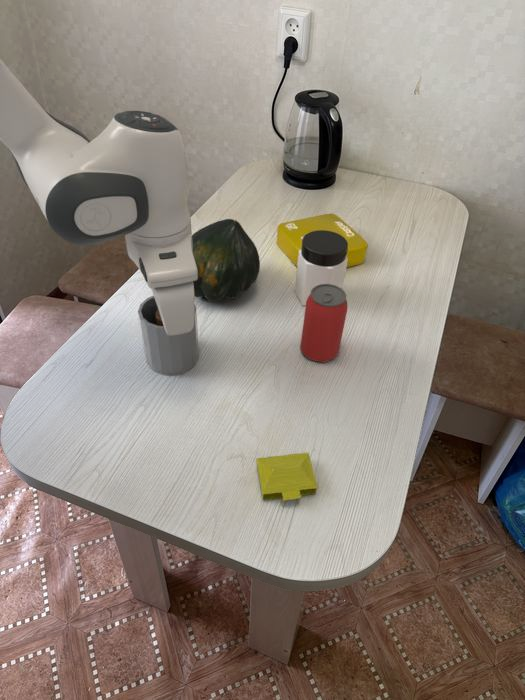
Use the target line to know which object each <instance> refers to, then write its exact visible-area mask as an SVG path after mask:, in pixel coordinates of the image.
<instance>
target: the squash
mask: <svg viewBox="0 0 525 700" xmlns="http://www.w3.org/2000/svg"><path fill="white" fill-rule="evenodd" d="M192 241H193V254H194V258H195V261H196V266H197V271H198V279H197V280H196V281H193V285H194V297H195V298H206V299H207V300H208V301H209V302H219V301H221V300H223V298H224V297H225V298H226V299H236V298H237V297H239V296H240V295H241V294H243V293H245V292H246V291H248V290H249V289H250V288H251V287H252V286H253V284H254V283H255V282H256V281H257V279H258V277H259V274H260V268H261V261H260V255H259V251H258V249H257V246H256V244H255V243H254V241H253V239H252V238H251V237H250V236H249V235H248V233H247V232H246V230H245V229H244V228H243V226H242V224H241V223H240V222H239V221H238V220H236V219H232V218H224V219H221V220H218V221H215V222H213V223H210V224H209V225H206V226H204V227H201V228H199V229H198V230H197V231H196V232H194V233H193V234H192Z"/></svg>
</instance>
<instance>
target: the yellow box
mask: <svg viewBox="0 0 525 700" xmlns="http://www.w3.org/2000/svg"><path fill="white" fill-rule="evenodd" d="M318 230H326V231H332V232H335V233H338V234H340V235H341V236H343V237H344V238H345V239H346V240H347V242H348V251H347V255H346V257H347V259H348V262H347V267H346V269H347V268H350V267H354V266H359V265H361V264H363V263H364V262H365V261H366V256H367V251H368V247H369V243H368V241H367V240H366V239H365V238H364V237H362V236H361V235H360V234H359V233H358V231H356V230H354V229H353V228H352V227H351V226H350V225H349V224H348V223H347V222H345V221H344V220H343V219H342V218H341V217H340V216H338V215H337V214H335V213H325V214H321V215H314V216H310V217H306V218H305V217H304V218H300V219H296V220H290V221H286V222H282V223H280V224H278V226H277V231H276V232H277V233H276V246H277V247H279V249H280V250H281V251H282V252H283V253H284V254H285V255H286V257H288V259H289V260H290V262H292V263H293V264H294V266H295V267H297V264H298V255H299V250H300V249H301V247H302V239H303V237H304V236H305V235H306V234H307V233H309V232H312V231H318Z"/></svg>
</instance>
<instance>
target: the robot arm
mask: <svg viewBox="0 0 525 700" xmlns="http://www.w3.org/2000/svg"><path fill="white" fill-rule="evenodd" d="M0 142H1V143H2V144H3V145H5V146H6V148H7V149H8V151H9V152H10V153H11V155H12V157H13V160H14V162H15V165H16V168H17V171H18V173H19V175H20V177H21V179H22V181H23V183H24V184H25V185H26V187H27V188H28V190H29V191H30V193H31V194H32V196H33V197H34V199H35V201H36V203H37V204H38V207H39V209H40V211H41V212H42V214H43V216H44V218H45V220H46V221H47V223H48V225H49V226H50V229H52V231H53V232H54V233H55V234H56V235H57V236H58V237H60V238H61V239H62V240H64V241H66V242H68V243H70V244H73V245H76V246H84V247H85V246H86V247H88V246H90V247H91V246H97V245H101V244H105V243H108V242H110V241H113V240H116V239H118V238H121V237H123V236H124V241H125V246H126V252H127V256H128V258H129V259H130V260H131V261H132V262H133V263H134V264H135V266H136V267H137V269H139V271H140V272H141V274H142V276H143V278H144V281H145V283H146V284H147V286H148V288H150V289H151V292H152V296H153V295H154V298H155V301H156V304H157V307H158V310H159V313H160V316H161V319H162V322H163V325H164V328H165V331H166V333H167V335H169V336H173V335H179V334H183V333H188V332H190V331H191V330H192V329H193V327H194V306H196V304H195V298H196V297H195V296H194V285H193V281H196V280H197V279H198V271H197V266H196V261H195V258H194V254H193V241H192V235H193V234H192V233H193V231H192V217H191V213H190V210H189V207H188V197H189V190H190V183H189V182H190V181H189V171H188V164H187V155H186V151H185V149H186V148H185V145H184V141H183V137H182V134H181V132H180V130H179V128H177V126H176V125H175V124H174V123H172V122H171V121H170V120H168V119H167V118H165V117H163V116H161V115H159V114H156V113H152V112H149V111H143V110H125V111H121V112H118V113H116V114H114V116H113V117H112V119H111V120H110V122H109V124H108V125H107V126H106V127H105V128H104V129H103V130H102V131H101V132H100V133H99V134H98V135H97V136H96V137H95V138H93V139H92V140H90V139H89V138H88V136H87V135H86V134H84V133H83V132H81V130H79V129H78V128H76V127H74V126H72V125H70V124H68V123H66V122H64V121H62V120H60V119H58V118H56V117H55V116H53V115H51V114H50V113H49V112H48V111H47V110H46V109H45V108H44V107H43V106H42V105H41V104H40V102H38V101H37V100H36V98H35V97H34V96H33V95H32V94H31V93H30V91H29V90H28V89H27V88H26V86H24V85H23V83H22V82H21V81H20V80H19V78H17V76H16V75H15V74H14V73H13V72H12V71H11V70H10V68H9V67H8V66H7V65H6V64H5V63H4V61H3V60H2V59H1V58H0Z"/></svg>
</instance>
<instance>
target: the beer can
mask: <svg viewBox="0 0 525 700" xmlns="http://www.w3.org/2000/svg"><path fill="white" fill-rule="evenodd" d="M347 313H348V301H347V293H346V291H345V290H344V289H343V288H342V289H341V288H340V287H338V286H335V285H332V284H320V285H317V286H315V287H314V288H313V289H312V290H311V294H310V295H309V297H308V298H307V301H306V306H305V308H304V315H303V316H304V317H303V325H302V332H301V339H300V350H301V352H302V354H303V355H304V356H305V357H306V358H308V359H309V360H311V361H314V362H317V363H318V362H319V363H324V362H329V361H331V360H334V359H335V358H336V357H337V356H338V354H339V353H340V349H341V344H342V339H343V335H344V328H345V324H346V318H347Z"/></svg>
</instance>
